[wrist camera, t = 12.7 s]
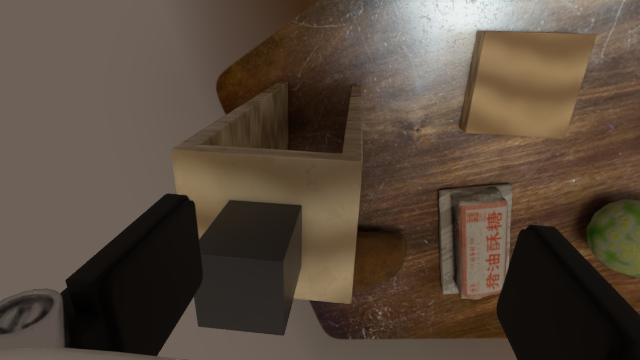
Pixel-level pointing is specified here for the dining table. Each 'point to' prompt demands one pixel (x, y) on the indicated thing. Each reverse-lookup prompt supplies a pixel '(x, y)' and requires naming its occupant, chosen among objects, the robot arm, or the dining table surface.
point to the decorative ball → (617, 236)
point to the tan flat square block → (524, 83)
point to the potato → (377, 258)
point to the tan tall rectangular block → (281, 184)
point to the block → (250, 267)
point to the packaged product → (474, 239)
